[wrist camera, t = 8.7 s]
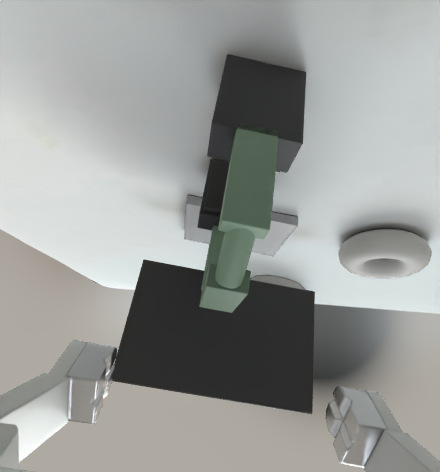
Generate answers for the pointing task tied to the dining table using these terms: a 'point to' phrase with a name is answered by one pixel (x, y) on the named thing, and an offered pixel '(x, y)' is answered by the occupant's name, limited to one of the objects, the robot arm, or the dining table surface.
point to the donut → (385, 253)
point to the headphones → (246, 169)
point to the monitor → (220, 332)
